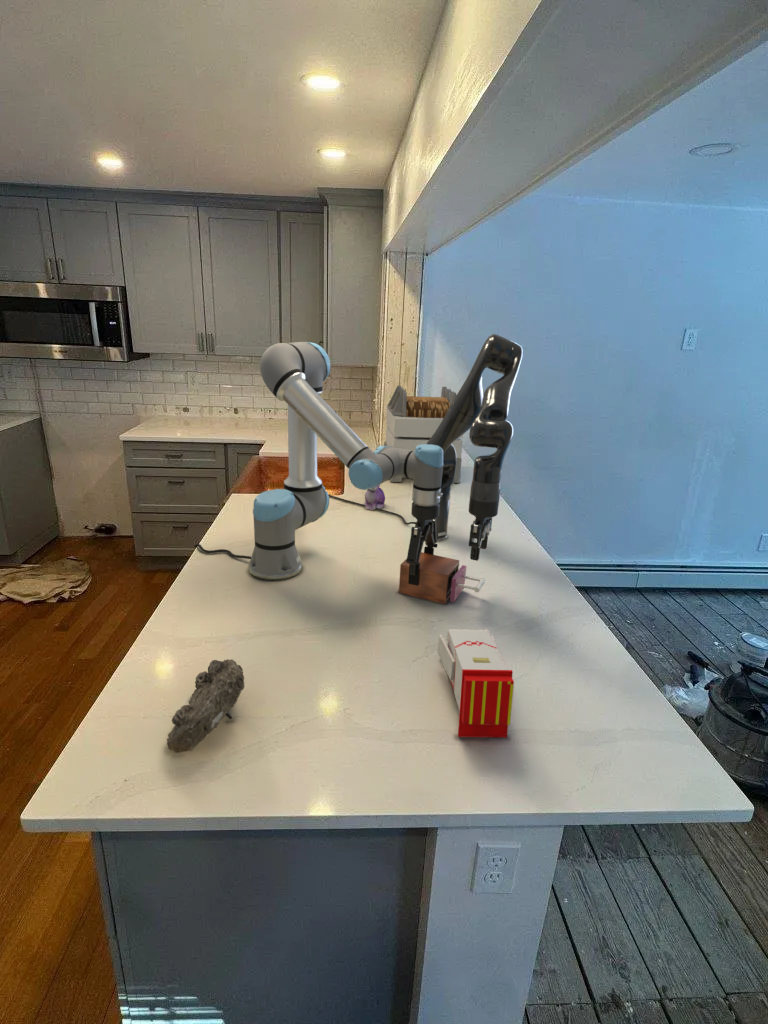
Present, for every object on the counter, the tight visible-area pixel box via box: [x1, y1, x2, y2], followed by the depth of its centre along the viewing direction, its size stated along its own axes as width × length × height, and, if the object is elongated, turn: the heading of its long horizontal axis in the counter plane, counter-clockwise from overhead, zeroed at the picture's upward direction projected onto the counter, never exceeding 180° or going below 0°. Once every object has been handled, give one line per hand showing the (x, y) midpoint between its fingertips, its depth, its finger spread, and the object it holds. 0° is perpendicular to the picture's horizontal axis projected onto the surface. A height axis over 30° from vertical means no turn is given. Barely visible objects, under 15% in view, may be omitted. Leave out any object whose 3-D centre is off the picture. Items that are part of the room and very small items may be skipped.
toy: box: [437, 628, 515, 738], centre depth 117 cm, size 12×13×30 cm
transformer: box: [383, 384, 464, 484], centre depth 268 cm, size 34×33×41 cm
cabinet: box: [398, 551, 460, 605], centre depth 159 cm, size 14×11×9 cm
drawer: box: [447, 564, 487, 603], centre depth 157 cm, size 18×10×7 cm, turn 66°
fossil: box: [166, 658, 245, 754], centre depth 106 cm, size 22×10×15 cm
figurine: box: [363, 484, 386, 511], centre depth 223 cm, size 9×10×15 cm
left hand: (420, 575), depth 160 cm, fingers closed on cabinet, 11 cm apart
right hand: (478, 553), depth 152 cm, fingers open, 8 cm apart
